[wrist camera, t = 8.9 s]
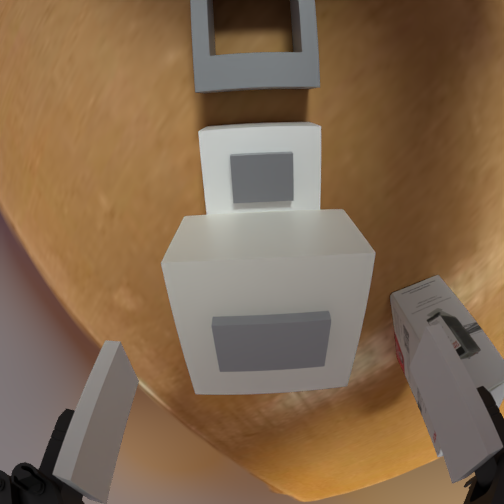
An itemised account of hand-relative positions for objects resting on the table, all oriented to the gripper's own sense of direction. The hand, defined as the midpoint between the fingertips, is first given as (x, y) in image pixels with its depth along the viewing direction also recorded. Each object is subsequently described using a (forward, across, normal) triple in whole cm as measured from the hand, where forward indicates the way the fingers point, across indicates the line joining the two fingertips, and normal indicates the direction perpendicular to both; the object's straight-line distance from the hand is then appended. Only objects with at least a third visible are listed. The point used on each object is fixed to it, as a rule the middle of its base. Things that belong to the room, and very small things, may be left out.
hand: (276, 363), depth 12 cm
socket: (+10, 0, -1) cm, 10 cm away
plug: (+9, 0, 0) cm, 9 cm away
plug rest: (+10, 0, +14) cm, 17 cm away
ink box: (+10, +13, -8) cm, 18 cm away
